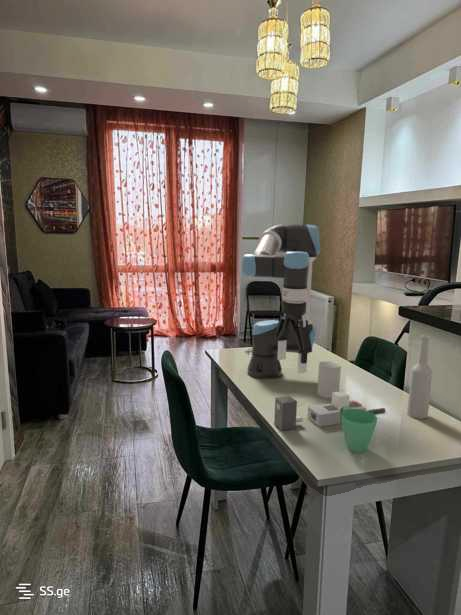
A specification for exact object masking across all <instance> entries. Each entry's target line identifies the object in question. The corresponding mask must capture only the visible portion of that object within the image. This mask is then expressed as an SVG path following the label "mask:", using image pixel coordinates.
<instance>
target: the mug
mask: <svg viewBox="0 0 461 615" xmlns="http://www.w3.org/2000/svg"><path fill="white" fill-rule="evenodd" d="M341 422H342V423H341V425H342V432H343V435H344V440H345V444H346V446H347V448H348V450H349V451H351V452H354V453H361V454H362V453H364V452H365V451H366V449H367V448H368V446H369V444H370V442H371V439H372V437H373V435H374V432H375V429H376V425H377V422H378V417H377V416H376V414H375V413H371V412H368V411H365V410H361V409H351V408H350V407H349V406H343V407H342V409H341Z"/></svg>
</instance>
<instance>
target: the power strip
mask: <svg viewBox="0 0 461 615" xmlns="http://www.w3.org/2000/svg"><path fill="white" fill-rule="evenodd" d="M349 407H350V408H351V409H361V410H365V411H368V412H371V413H373V414H376V413H383V412H386V408H385V407H380V408H375V409H369V410H367V408H366V407H365V406H363V405H362V403H360V402H359V401H357V400H349ZM307 419H308V420H310V421H311V422H312V423H314V424H315V425H316V426H317V427H325V426H331V425H337V424H342V422H341V410H338V409H337V408H336V407H334V406H332V402H331V403H322V404H316V405H310V406H309V405H308V406H307Z"/></svg>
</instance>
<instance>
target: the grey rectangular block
mask: <svg viewBox="0 0 461 615" xmlns="http://www.w3.org/2000/svg"><path fill="white" fill-rule="evenodd" d="M297 409H298V401H297V400H295V399H294V398H293V397H292V396H290V395H284V396H283V395H282V396H277V397H276V396H275V399H274V417H273V418H274V422H273V424H274V425H275V426H276V427H277V428H278V429H279V430H280V431H286V430H293V429H296V426H297V424H298V423H302V422H304V421H303V419H304V418H303V417H302V415H300V414H297Z"/></svg>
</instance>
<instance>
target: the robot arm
mask: <svg viewBox="0 0 461 615" xmlns="http://www.w3.org/2000/svg"><path fill="white" fill-rule="evenodd" d="M319 230H320V229H319V227H318V226H317V225H314V224H285V223H284V224H282V223H281V224H277V225H273V226H271V227H268V228H266V229H265V230H264V231H262V232H261V234H260V235H259V237H258V240H257V246H256V248H255V250H254V253H250V254H249V253H248V254H243V256H242V260H241V271H242V273H241V274H242V275H243V276H244V277H252V278H274V279H275V278H277V279H283V282H282V283H283V285H282V292H281V293H282V300H283V301H282V302H281V312H280V315H279V320H275V319H273V320H271V319H269V320H261V321H258V322H255V323H254V324H253V326H252V332H251V334H252V340H251V341H252V344H251V357H250V361H249V363H248V365H247V370H246V373H247V372H248V373H247V374H248V375H249V376H251V377H254V378H256V379H257V378H258V379H267V380H268V379H276V378H279V377H281V376H282V373H283V368H282V364H281V360H286V359H287V353H293V354H295V353H297V369H296V370H297V374H304V373H307V366H308V364H307V363H308V354H309V353H313V346H314V342H315V341H314V340H315V335H316V327H315V325H313V324H314V323H313V321H312V320H311V319H310V313H311V312H310V311H311V295H312V294H311V292H312V278H313V277H312V275H313V263H314V261H315V260H316V259H317V255H319V254H320V253H321V244H320V233H319V232H320V231H319ZM277 253H284V254H283V255H279V254H278V255H276V254H277Z"/></svg>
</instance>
